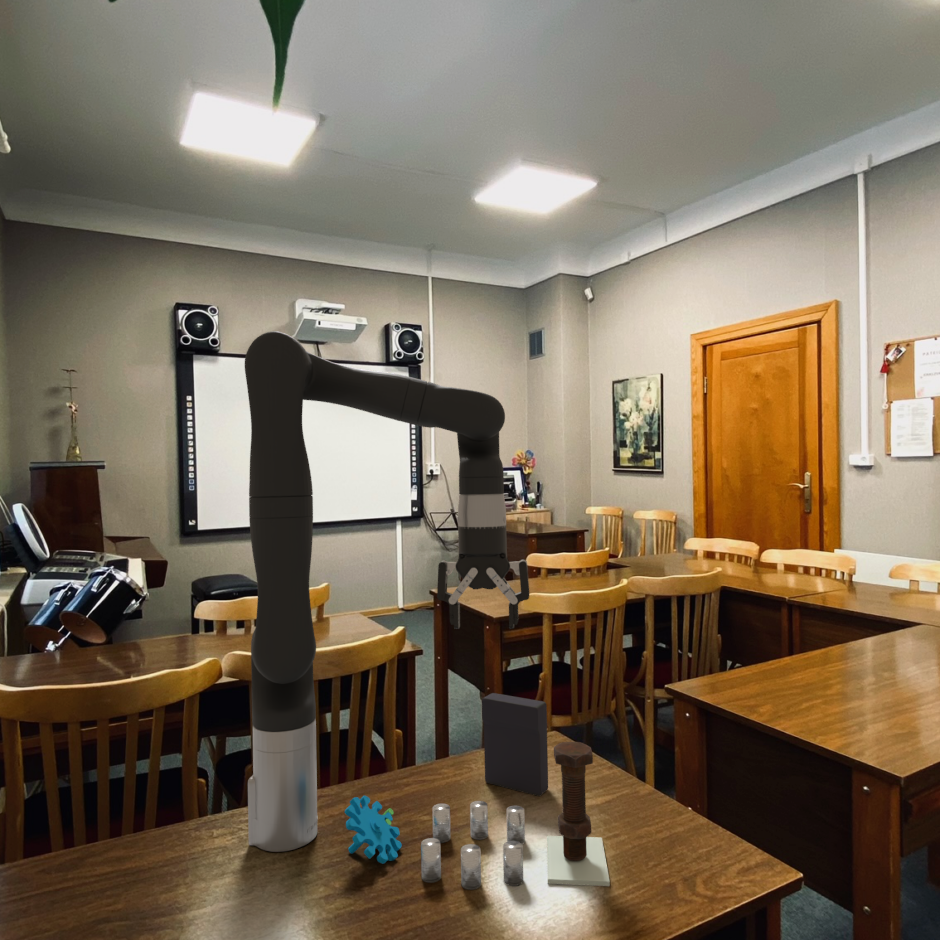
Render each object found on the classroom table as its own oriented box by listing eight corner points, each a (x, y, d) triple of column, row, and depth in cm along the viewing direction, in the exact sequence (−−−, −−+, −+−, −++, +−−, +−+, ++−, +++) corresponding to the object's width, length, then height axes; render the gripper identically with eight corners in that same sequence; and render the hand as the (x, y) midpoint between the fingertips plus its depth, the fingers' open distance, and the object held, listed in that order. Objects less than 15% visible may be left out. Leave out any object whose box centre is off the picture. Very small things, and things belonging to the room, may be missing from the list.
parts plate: (547, 883, 90) (547, 879, 90) (546, 839, 101) (546, 835, 101) (609, 886, 89) (609, 881, 89) (601, 841, 100) (601, 837, 100)
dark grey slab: (550, 788, 118) (548, 700, 118) (539, 798, 114) (537, 707, 114) (495, 774, 123) (493, 691, 124) (482, 784, 120) (481, 697, 120)
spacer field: (418, 887, 89) (417, 852, 90) (435, 829, 104) (435, 799, 104) (522, 891, 88) (522, 856, 88) (525, 832, 103) (524, 802, 103)
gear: (382, 868, 91) (339, 804, 95) (353, 896, 92) (311, 831, 96) (417, 839, 101) (377, 782, 105) (391, 864, 102) (352, 807, 106)
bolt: (596, 869, 92) (594, 756, 92) (558, 869, 92) (556, 756, 92) (590, 845, 98) (588, 740, 98) (554, 846, 98) (552, 740, 98)
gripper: (528, 521, 110) (530, 622, 110) (440, 522, 111) (442, 622, 111) (527, 524, 102) (529, 633, 102) (433, 525, 104) (435, 633, 104)
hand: (484, 627), depth 107 cm, fingers open, 8 cm apart
